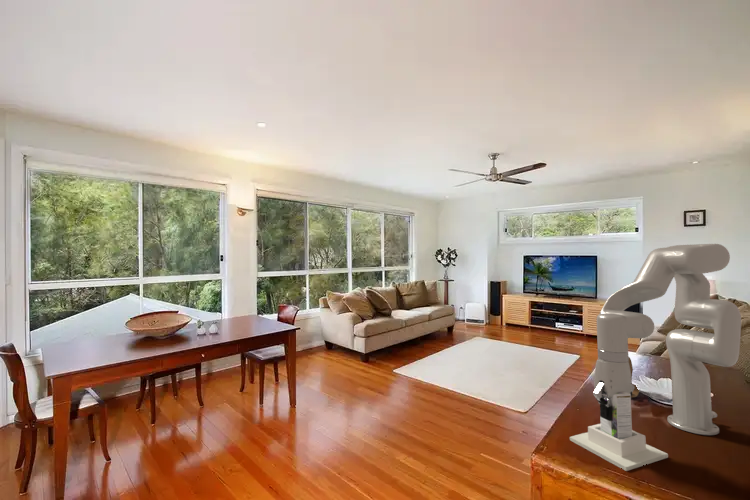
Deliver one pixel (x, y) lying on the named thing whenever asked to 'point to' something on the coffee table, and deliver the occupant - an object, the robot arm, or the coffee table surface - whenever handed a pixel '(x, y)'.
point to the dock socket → (619, 448)
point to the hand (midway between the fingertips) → (615, 416)
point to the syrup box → (619, 417)
